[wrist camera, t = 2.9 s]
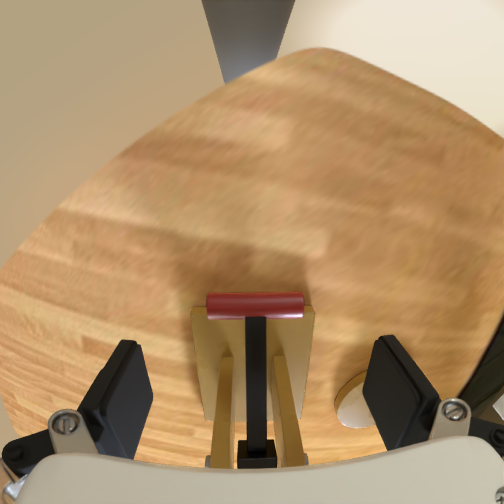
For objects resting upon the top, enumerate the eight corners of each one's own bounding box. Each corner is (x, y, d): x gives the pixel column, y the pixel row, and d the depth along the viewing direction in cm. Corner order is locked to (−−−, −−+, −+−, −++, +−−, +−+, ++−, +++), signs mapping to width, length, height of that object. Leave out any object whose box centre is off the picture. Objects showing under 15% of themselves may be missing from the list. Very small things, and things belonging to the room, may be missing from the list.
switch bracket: (192, 306, 22) (154, 428, 10) (312, 304, 22) (361, 423, 11) (206, 412, 25) (194, 517, 14) (299, 410, 25) (318, 513, 14)
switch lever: (210, 292, 17) (204, 292, 14) (298, 291, 17) (306, 291, 14) (217, 472, 15) (214, 492, 13) (294, 470, 15) (300, 490, 13)
